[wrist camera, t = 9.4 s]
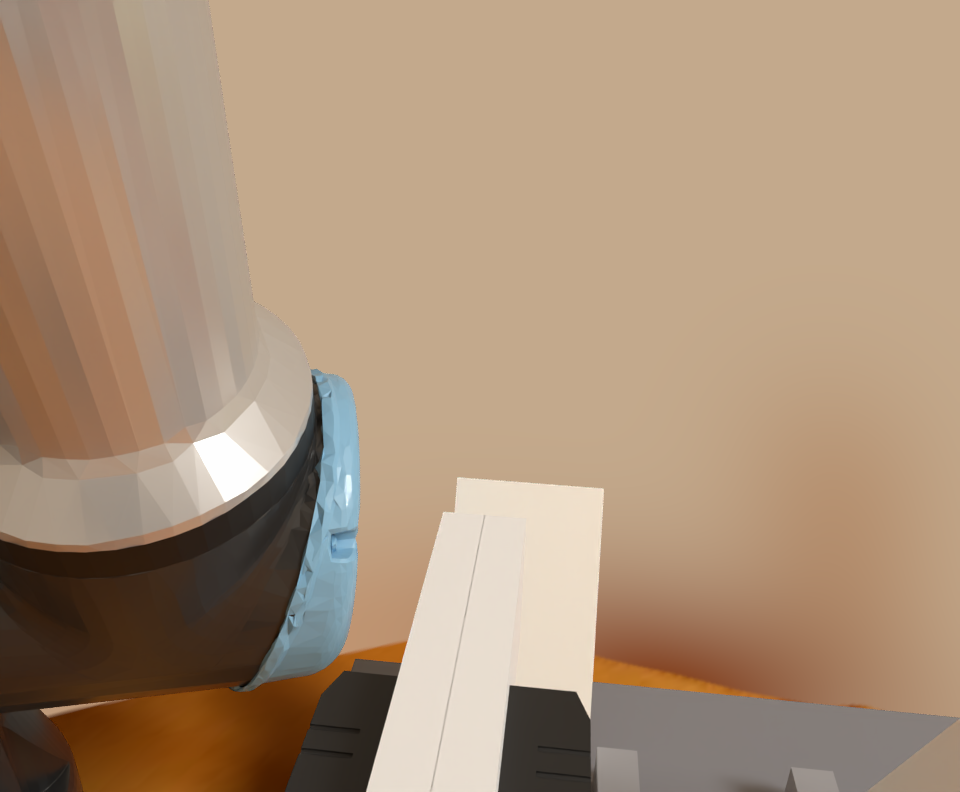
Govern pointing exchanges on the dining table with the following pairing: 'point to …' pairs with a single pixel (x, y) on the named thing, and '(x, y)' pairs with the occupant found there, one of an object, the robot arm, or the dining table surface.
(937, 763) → the lever
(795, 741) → the switch unit
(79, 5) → the robot arm
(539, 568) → the lever
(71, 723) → the dining table surface
